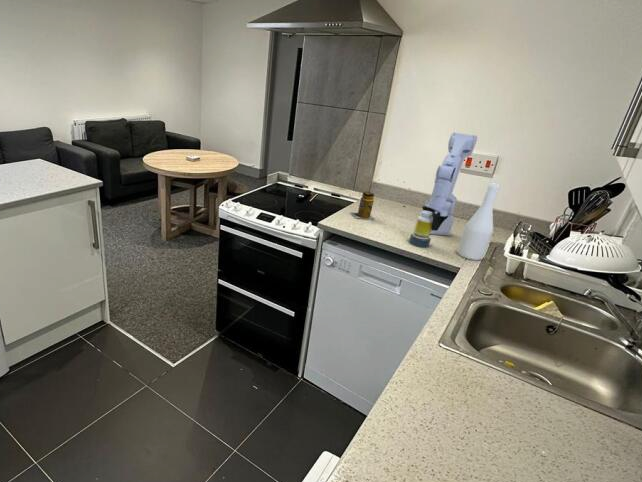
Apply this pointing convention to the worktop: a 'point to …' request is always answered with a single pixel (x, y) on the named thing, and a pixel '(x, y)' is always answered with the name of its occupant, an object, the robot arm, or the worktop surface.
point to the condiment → (365, 206)
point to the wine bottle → (479, 228)
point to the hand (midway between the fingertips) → (430, 226)
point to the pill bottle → (423, 225)
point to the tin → (419, 241)
